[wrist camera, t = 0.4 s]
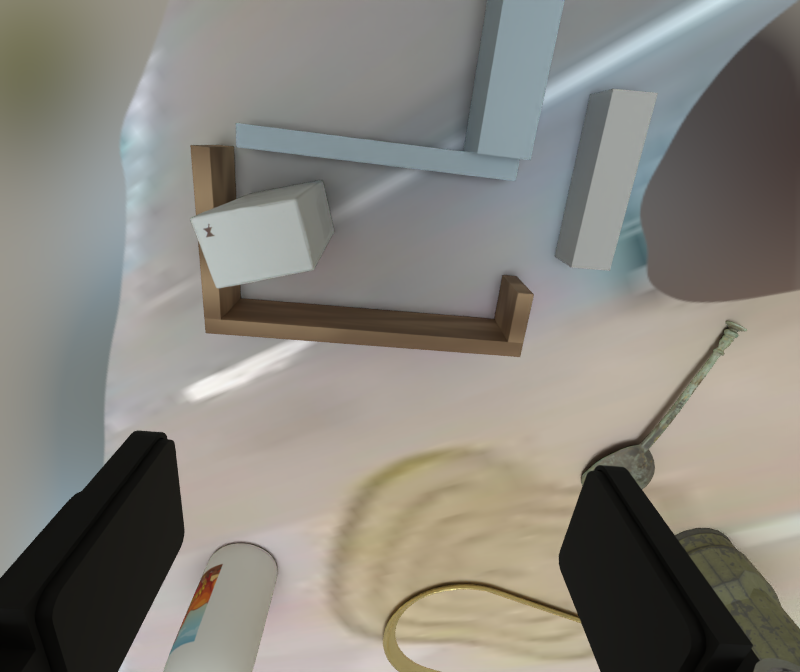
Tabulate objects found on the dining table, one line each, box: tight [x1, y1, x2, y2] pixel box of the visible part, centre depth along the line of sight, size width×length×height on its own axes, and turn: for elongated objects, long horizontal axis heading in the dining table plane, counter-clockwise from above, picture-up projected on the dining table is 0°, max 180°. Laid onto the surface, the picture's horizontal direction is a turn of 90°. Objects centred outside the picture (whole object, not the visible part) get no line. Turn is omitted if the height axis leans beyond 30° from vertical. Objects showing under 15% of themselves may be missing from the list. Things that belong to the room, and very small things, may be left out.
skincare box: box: [190, 180, 334, 288], centre depth 30 cm, size 6×4×12 cm
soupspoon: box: [581, 321, 747, 489], centre depth 44 cm, size 22×3×7 cm
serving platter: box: [383, 584, 582, 672], centre depth 58 cm, size 19×35×2 cm, turn 64°
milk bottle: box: [163, 543, 277, 672], centre depth 42 cm, size 8×8×20 cm
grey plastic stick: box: [555, 89, 658, 271], centre depth 34 cm, size 12×3×4 cm, turn 175°
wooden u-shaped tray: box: [190, 145, 534, 357], centre depth 35 cm, size 13×24×5 cm, turn 85°
